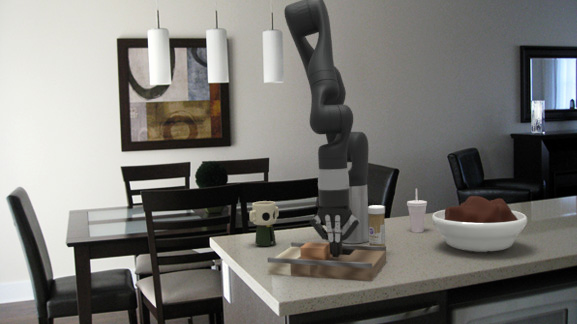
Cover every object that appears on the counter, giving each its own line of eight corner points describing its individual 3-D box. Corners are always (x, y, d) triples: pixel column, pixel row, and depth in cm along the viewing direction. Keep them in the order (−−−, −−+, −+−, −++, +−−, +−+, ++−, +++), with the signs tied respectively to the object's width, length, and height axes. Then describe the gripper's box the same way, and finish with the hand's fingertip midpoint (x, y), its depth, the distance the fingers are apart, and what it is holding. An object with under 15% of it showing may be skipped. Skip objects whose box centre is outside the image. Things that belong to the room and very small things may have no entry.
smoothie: (405, 233, 184) (404, 189, 183) (409, 229, 190) (408, 186, 189) (426, 233, 182) (425, 189, 181) (429, 229, 188) (428, 187, 187)
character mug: (258, 250, 168) (256, 206, 167) (244, 246, 174) (242, 204, 173) (286, 243, 175) (285, 201, 174) (272, 240, 181) (270, 199, 180)
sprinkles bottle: (365, 255, 158) (364, 206, 156) (374, 251, 161) (373, 204, 160) (380, 257, 155) (379, 207, 154) (389, 253, 158) (387, 205, 157)
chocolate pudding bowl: (414, 245, 167) (413, 193, 166) (484, 235, 176) (484, 186, 175) (471, 264, 144) (470, 205, 143) (548, 252, 153) (548, 196, 152)
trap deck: (386, 261, 150) (386, 246, 150) (371, 281, 133) (371, 264, 133) (292, 256, 159) (292, 242, 159) (268, 274, 143) (267, 258, 142)
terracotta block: (330, 256, 145) (330, 243, 145) (324, 262, 140) (323, 248, 140) (307, 255, 147) (307, 242, 147) (300, 261, 142) (300, 247, 141)
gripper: (363, 184, 142) (365, 253, 144) (312, 184, 147) (314, 251, 148) (356, 188, 135) (359, 261, 136) (303, 188, 140) (305, 258, 141)
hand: (336, 256), depth 142 cm, fingers closed
